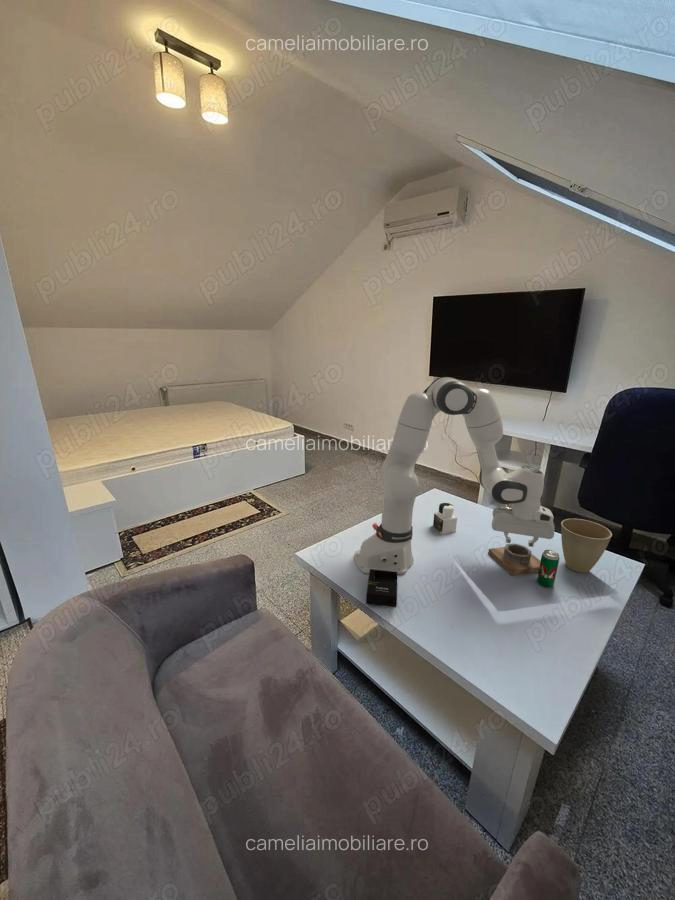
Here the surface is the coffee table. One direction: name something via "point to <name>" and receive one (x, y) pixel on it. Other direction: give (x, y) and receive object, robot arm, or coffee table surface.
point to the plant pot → (583, 543)
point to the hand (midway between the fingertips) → (519, 544)
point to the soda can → (548, 568)
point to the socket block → (515, 559)
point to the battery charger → (382, 588)
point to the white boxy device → (445, 519)
